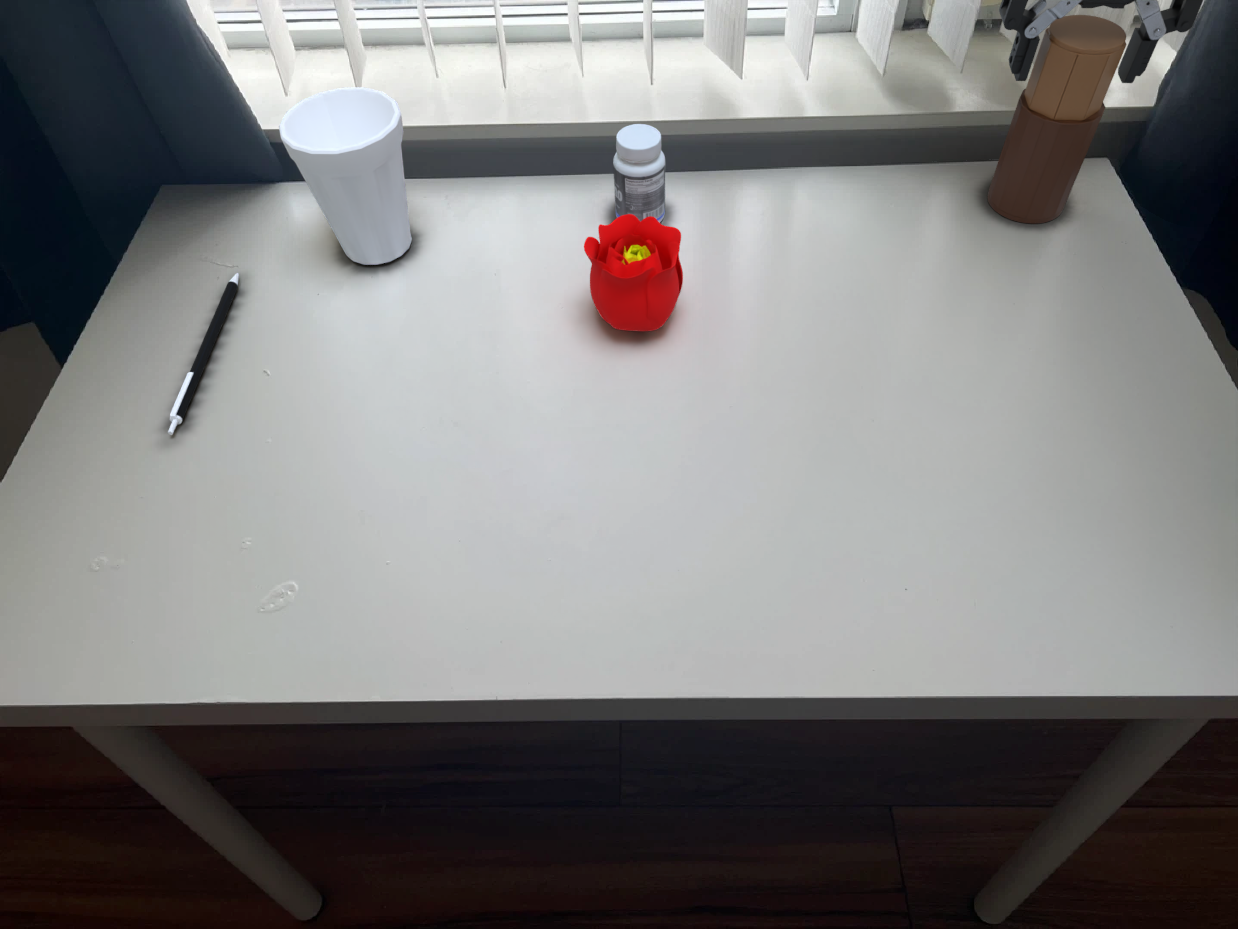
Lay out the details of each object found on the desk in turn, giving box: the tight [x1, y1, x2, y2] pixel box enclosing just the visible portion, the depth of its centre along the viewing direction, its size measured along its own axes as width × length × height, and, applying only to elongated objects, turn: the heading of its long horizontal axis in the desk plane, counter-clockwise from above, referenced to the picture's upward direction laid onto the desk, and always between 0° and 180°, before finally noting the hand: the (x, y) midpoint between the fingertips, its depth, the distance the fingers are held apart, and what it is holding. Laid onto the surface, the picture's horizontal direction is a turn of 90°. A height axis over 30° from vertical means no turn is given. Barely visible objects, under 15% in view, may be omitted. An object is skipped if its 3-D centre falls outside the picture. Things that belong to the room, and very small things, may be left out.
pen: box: [167, 271, 240, 436], centre depth 75 cm, size 1×19×1 cm, turn 179°
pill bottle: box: [612, 123, 666, 224], centre depth 82 cm, size 5×5×8 cm
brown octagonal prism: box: [1024, 14, 1128, 120], centre depth 74 cm, size 6×6×6 cm
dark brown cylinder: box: [987, 88, 1106, 225], centre depth 79 cm, size 7×7×14 cm
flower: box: [583, 214, 684, 332], centre depth 73 cm, size 8×8×8 cm
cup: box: [278, 86, 413, 266], centre depth 79 cm, size 10×10×13 cm
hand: (1071, 77), depth 75 cm, fingers open, 8 cm apart
